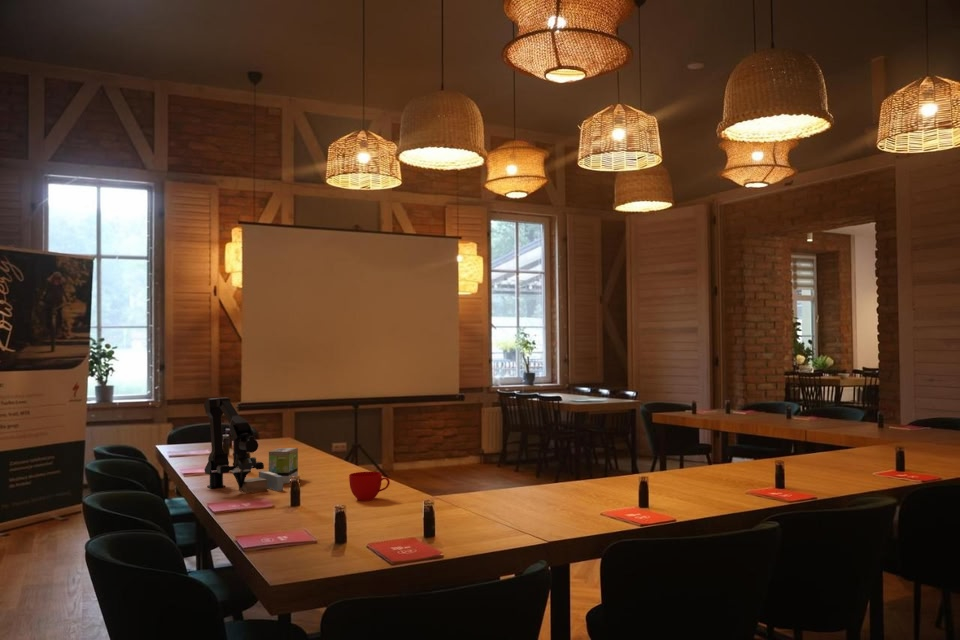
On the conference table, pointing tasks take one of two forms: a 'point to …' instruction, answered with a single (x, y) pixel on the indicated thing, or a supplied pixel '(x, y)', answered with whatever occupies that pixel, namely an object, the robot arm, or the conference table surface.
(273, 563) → the conference table surface
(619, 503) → the conference table surface
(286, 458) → the tea box
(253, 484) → the walnut block
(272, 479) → the gray and cream block
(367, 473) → the ceramic cup
